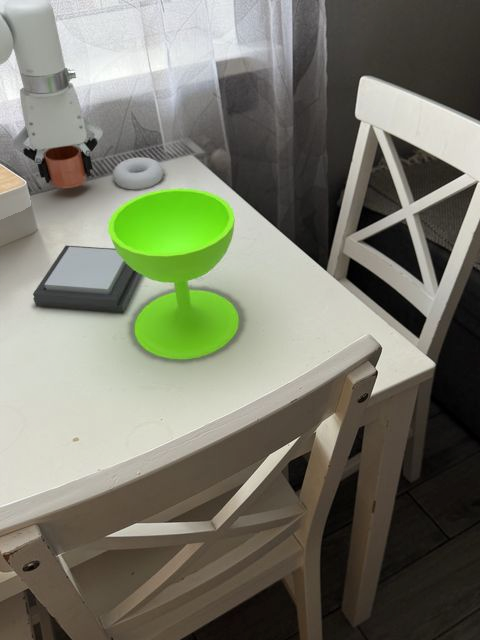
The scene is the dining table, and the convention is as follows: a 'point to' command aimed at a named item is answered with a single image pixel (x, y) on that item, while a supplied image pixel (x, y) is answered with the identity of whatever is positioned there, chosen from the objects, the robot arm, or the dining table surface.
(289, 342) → the dining table surface
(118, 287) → the scale
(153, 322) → the wineglass
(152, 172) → the donut
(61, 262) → the grey square slab
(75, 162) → the cup
